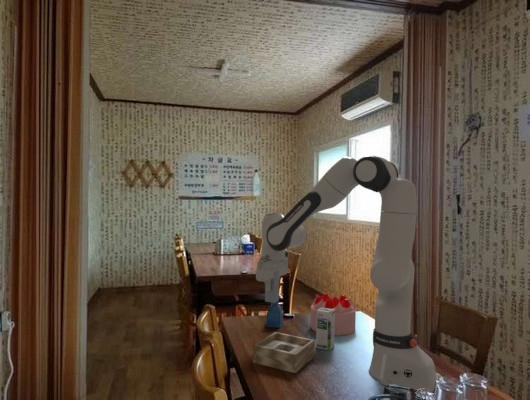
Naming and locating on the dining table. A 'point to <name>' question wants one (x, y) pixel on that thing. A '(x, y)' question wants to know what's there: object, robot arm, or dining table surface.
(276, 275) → the peg
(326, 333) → the syrup box
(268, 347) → the crate
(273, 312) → the perfume bottle
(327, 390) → the dining table surface
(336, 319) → the cake
